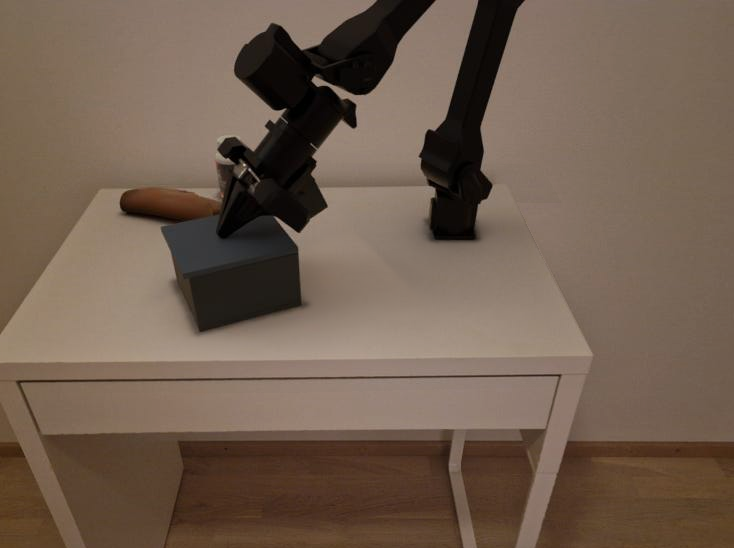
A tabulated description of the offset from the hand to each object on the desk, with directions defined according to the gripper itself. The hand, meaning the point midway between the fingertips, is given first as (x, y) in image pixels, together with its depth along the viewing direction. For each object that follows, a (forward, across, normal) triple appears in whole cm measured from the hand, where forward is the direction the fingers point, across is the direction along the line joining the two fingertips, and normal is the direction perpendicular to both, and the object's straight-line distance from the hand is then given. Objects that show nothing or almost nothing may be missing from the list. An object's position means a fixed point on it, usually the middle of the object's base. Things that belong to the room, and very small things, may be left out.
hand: (219, 236), depth 74 cm
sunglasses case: (+7, +27, -6) cm, 28 cm away
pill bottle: (-1, +30, -13) cm, 32 cm away
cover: (0, 0, -1) cm, 1 cm away
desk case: (+5, 0, -7) cm, 9 cm away
